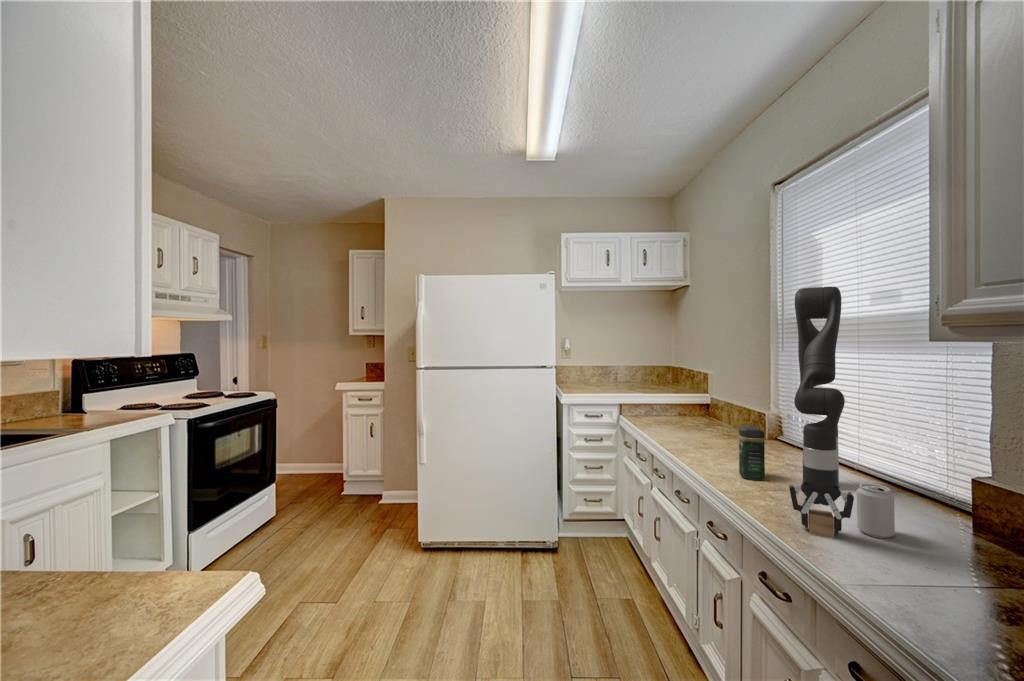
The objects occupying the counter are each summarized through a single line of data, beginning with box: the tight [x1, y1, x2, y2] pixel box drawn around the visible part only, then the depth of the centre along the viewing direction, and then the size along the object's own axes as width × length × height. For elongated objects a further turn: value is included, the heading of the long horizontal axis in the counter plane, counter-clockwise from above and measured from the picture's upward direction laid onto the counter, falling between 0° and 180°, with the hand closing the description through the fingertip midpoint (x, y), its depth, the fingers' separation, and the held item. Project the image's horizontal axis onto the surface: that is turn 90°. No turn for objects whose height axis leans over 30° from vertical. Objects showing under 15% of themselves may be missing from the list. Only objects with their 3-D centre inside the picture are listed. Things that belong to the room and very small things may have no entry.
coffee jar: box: [738, 424, 766, 481], centre depth 159 cm, size 10×8×19 cm
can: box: [856, 483, 896, 539], centre depth 112 cm, size 8×8×12 cm
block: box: [807, 508, 835, 539], centre depth 113 cm, size 5×5×5 cm
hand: (820, 529), depth 113 cm, fingers open, 5 cm apart
